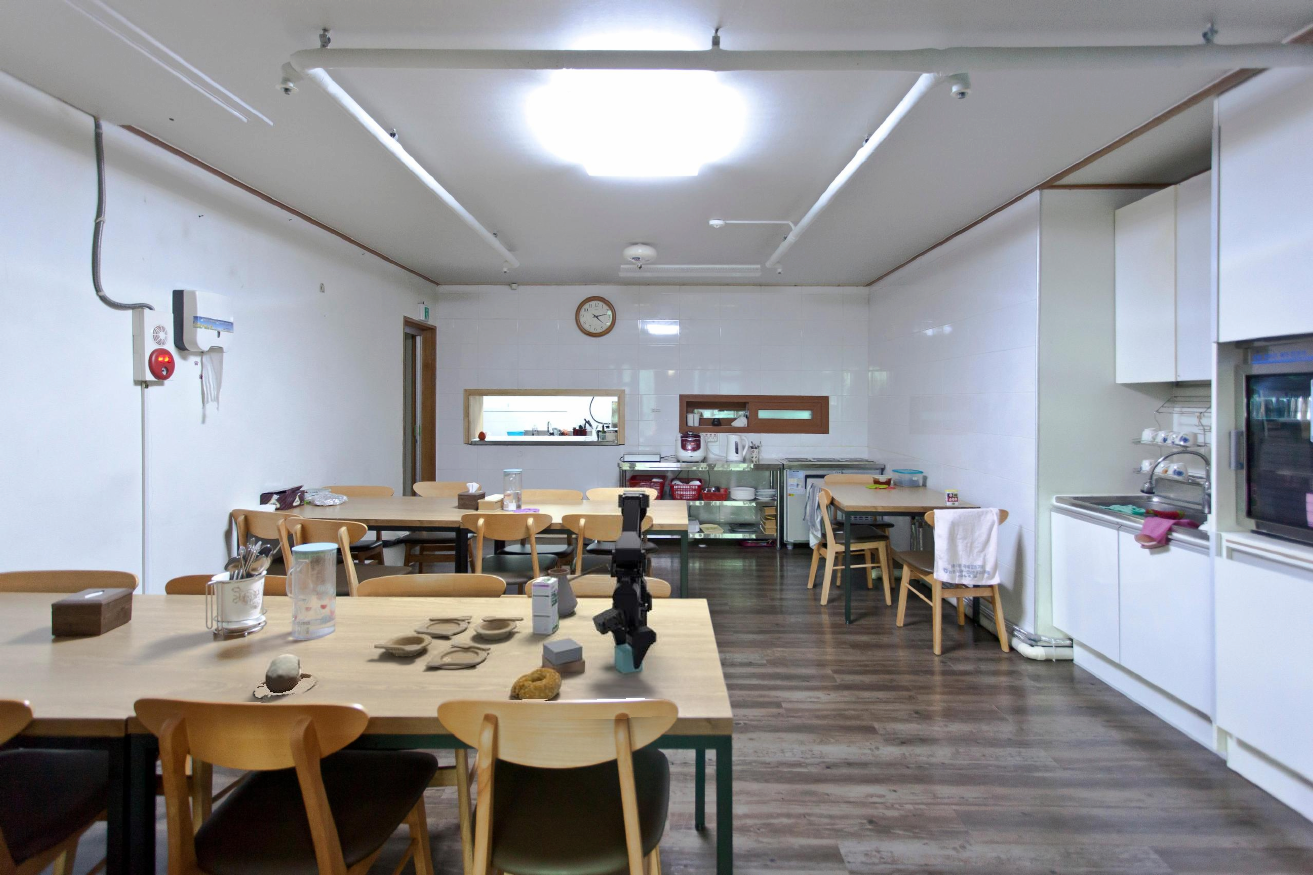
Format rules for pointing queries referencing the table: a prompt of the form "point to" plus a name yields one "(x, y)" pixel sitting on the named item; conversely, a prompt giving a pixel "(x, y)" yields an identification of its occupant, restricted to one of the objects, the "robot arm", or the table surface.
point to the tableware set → (462, 652)
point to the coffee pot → (568, 588)
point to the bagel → (537, 684)
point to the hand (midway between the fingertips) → (628, 661)
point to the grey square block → (562, 651)
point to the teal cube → (624, 659)
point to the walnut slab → (565, 666)
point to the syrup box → (545, 605)
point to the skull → (284, 674)
